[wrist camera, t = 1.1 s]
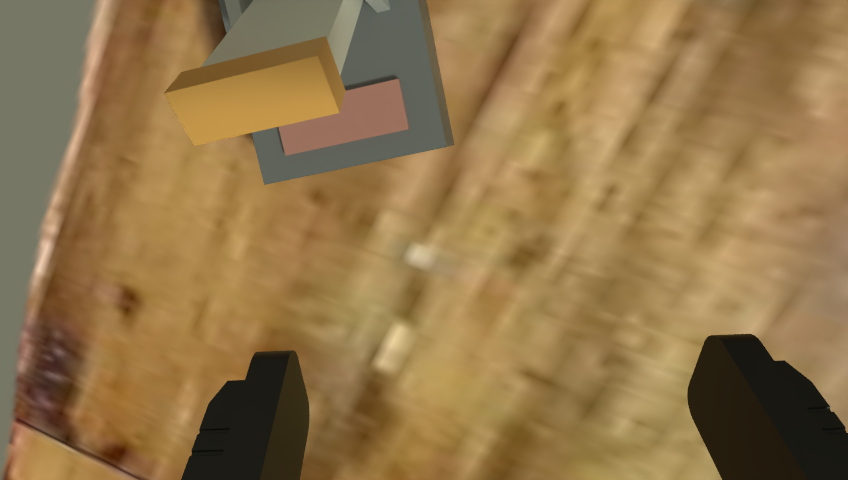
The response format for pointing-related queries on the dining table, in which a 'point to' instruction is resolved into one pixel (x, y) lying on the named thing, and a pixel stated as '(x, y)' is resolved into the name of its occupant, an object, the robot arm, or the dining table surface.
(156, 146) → the dining table surface
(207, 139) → the lever
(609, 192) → the dining table surface
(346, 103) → the switch box
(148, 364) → the dining table surface
